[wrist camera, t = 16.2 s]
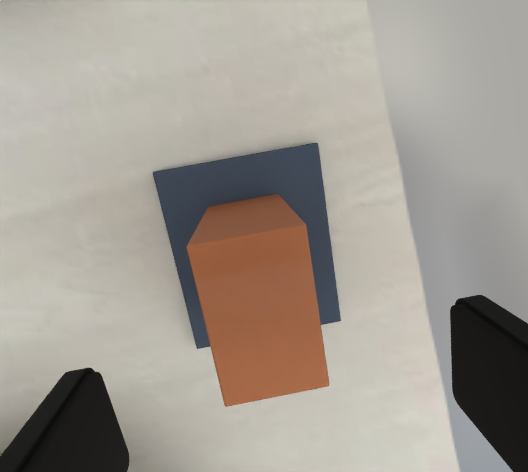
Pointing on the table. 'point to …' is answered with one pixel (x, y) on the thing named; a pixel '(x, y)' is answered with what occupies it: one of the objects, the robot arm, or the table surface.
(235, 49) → the table surface
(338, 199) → the table surface
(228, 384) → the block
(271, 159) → the mat
